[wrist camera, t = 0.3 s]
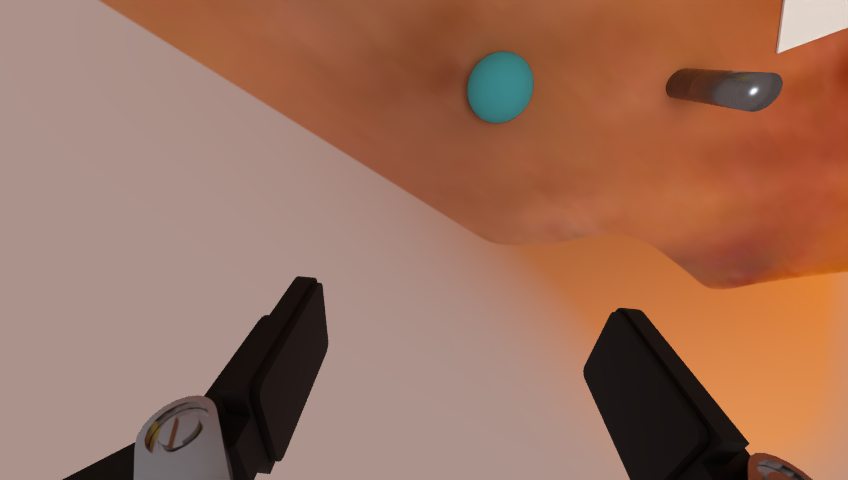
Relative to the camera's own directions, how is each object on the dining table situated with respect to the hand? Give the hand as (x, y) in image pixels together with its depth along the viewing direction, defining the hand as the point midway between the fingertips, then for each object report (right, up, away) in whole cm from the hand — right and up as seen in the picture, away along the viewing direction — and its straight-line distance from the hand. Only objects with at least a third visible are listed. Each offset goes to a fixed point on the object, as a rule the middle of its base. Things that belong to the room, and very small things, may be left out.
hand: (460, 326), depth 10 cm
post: (+24, +18, +20) cm, 37 cm away
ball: (+6, +17, +19) cm, 26 cm away
